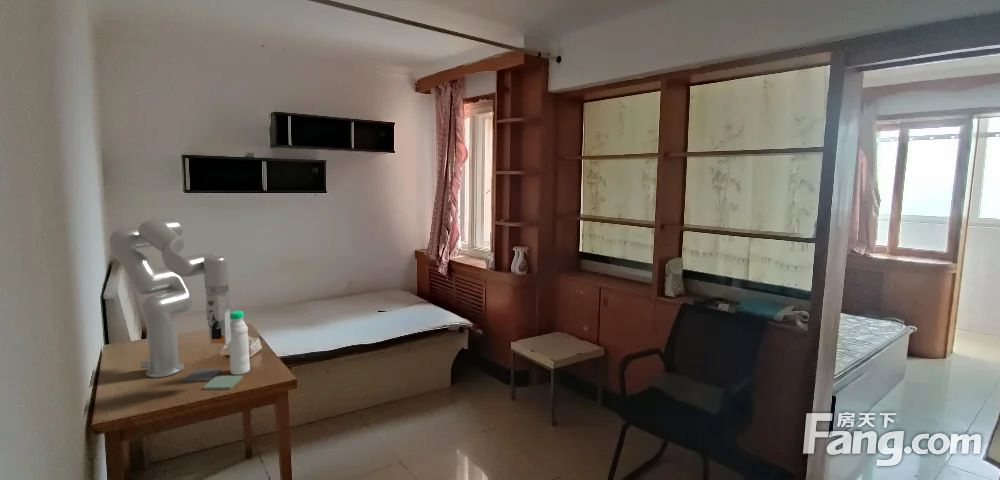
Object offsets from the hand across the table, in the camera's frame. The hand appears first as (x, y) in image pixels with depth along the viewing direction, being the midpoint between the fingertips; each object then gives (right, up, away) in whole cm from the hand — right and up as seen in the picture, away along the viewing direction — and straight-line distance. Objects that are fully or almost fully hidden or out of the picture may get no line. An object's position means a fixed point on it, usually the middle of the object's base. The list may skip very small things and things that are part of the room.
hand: (220, 335), depth 181 cm
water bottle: (+1, -17, +13) cm, 22 cm away
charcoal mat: (-12, -18, +9) cm, 23 cm away
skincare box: (0, -3, 0) cm, 3 cm away
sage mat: (0, -19, +3) cm, 19 cm away
